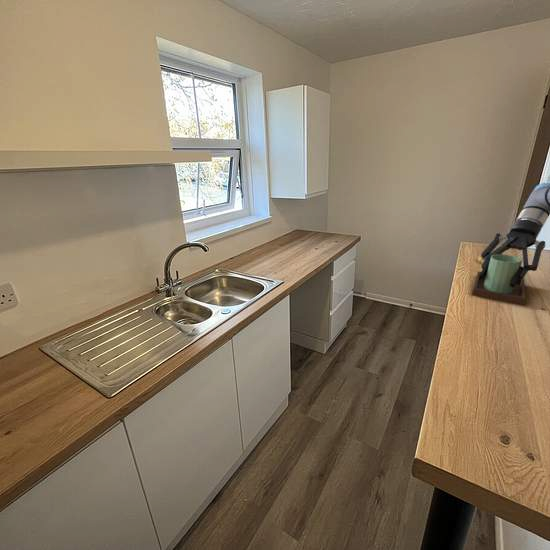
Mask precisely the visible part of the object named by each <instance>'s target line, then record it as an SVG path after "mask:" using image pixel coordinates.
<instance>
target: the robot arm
mask: <svg viewBox="0 0 550 550" xmlns="http://www.w3.org/2000/svg"><path fill="white" fill-rule="evenodd" d="M549 217H550V182H542V183H539V184H538V185H536V186H535V187H534V189H533V190H532V192H531V193H530V194H529V197H528V198H527V200H526V202H525V203H524V205H523V208H522V210H521V211H520V213H519V214H518V216H517V218H516V219H515V222H513V224H512V226H511V228H510V230H509V232H508V233H506V234H501V233H496V234H495V235H494V239H493V240H492V241H491V242H490V243H489V244H488V245H487V246H486V248H485V249H484V250H483V251H482V252H481V253H480V255H481V257H482V259H484V262H483V264H482V263H481V269H482V270H481V271H480V272H481V273H480V278H481V279H484V277H485V275H486V273H487V270H488V266H489V262H490V258H491V256H492V255H496V254H503V253H505V252H506V251H509V250H510V249H512V250H518V251H522V265H523V266H522V265H521V266H520V267H519V269H518V271H517V273H516V274H515V276H514V278H513V280H512V281H511V287H513V288H514V287H515V285H516V283H517V282H518V280H519V278H520V279H525V277H526V275H527V273H528V272H529V271H533V272H537V270H538V268H539V262H540V259H541V256H542V251H543V250H544V249H545V248H546V241H545V240H537V238H538V237H539V235H540V233H541V231H542V229H543V227H544V225H545V224H546V222H547V221H548V218H549ZM503 240H505V241H504V242H502V241H503ZM501 242H502V244H501V245H500V246H499V244H500V243H501ZM534 245H535V250H534V254H533V259H532V262H531V264H529V255H528V248H531V247H532V246H534Z"/></svg>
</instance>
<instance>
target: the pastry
mask: <svg viewBox="0 0 550 550" xmlns="http://www.w3.org/2000/svg"><path fill="white" fill-rule="evenodd" d="M476 260H477V262H478V263H481V265H482V264H483V262H484V259H482V257H481V254H480V255H478V257H477V258H476Z"/></svg>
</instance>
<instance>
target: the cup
mask: <svg viewBox="0 0 550 550" xmlns="http://www.w3.org/2000/svg"><path fill="white" fill-rule="evenodd" d="M522 264H523V258H520V257H518V256H514V255H510V254H503V253H502V254H496V255H492V256H491V258H490V262H489V266H488V270H487V274H486V277H485V281H484V288H485V289H487V290H489V291H493V292H498V293H504V294H510V293H512V292H513V290H514V288H513V287H511V281H512V280H513V278H514V276H515V274H516V273H517V271H518V269H519V267H520V266H521V267H522Z"/></svg>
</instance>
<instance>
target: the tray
mask: <svg viewBox="0 0 550 550" xmlns="http://www.w3.org/2000/svg"><path fill="white" fill-rule="evenodd" d="M481 272H482V271H477V273H476V277H475V280H474V285H473V288H472V293H471V296H474V297H479V298H483V299H489V300H494V301H499V302H504V303H509V304H513V305H517V306H518V305H519V306H524V305H525V302H526V299H527V298H526V283H525V282H526V281H525V278H523V279H520V278H519V280H518V282H517V283H516V285H515V287H514V290H513V292H512V293H510V294H504V293H498V292H493V291H489V290H487V289H485V288H484V281H485V277H486V275H485V277H484V279H481V278H480V273H481ZM486 274H487V273H486Z"/></svg>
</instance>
